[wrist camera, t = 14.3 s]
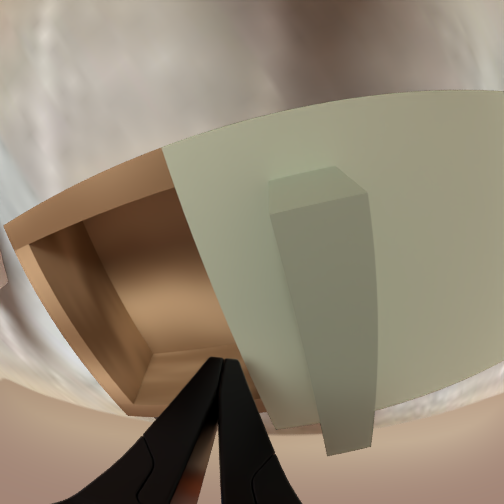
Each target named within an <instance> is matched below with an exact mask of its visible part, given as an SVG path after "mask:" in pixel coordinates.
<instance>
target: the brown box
mask: <svg viewBox="0 0 504 504" xmlns="http://www.w3.org/2000/svg"><path fill="white" fill-rule="evenodd" d="M4 229H5V231H6V233H7V236H8V238H9V240H10V242H11V245H12V247H13V249H14V251H15V253H16V255H17V257H18V259H19V261H20V263H21V265H22V267H23V269H24V271H25V273H26V275H27V277H28V279H29V281H30V283H31V284H32V286H33V288H34V290H35V292H36V293H37V295H38V297H39V299H40V300H41V302H42V304H43V305H44V307H45V309H46V310H47V312H48V313H49V315H50V317H51V318H52V320H53V321H54V323H55V324H56V326H57V328H58V329H59V331H60V332H61V333H62V335H63V336H64V338H65V339H66V341H67V342H68V344H69V345H70V346H71V348H72V349H73V351H74V352H75V353H76V355H77V356H78V357H79V359H80V360H81V361H82V363H83V364H84V365H85V367H86V368H87V369H88V370H89V372H90V373H91V374H92V375H93V377H94V378H95V379H96V380H97V381H98V383H99V384H100V385H101V386H102V387H103V389H104V390H105V391H106V392H107V393H108V394H109V396H110V397H111V398H112V399H113V400H114V401H115V402H116V403H117V405H118V406H119V407H120V408H121V409H122V410H123V411H124V412H125V413H126V414H127V415H128V416H142V417H154V418H155V419H157V418H158V417H159V416H160V414H161V413H162V412H163V411H164V410H165V409H166V408H167V406H168V405H169V404H170V403H171V402H172V401H173V399H174V398H175V397H176V396H177V395H178V394H179V392H180V391H181V390H182V389H183V388H184V386H185V385H186V384H187V383H188V382H189V381H190V379H191V378H192V377H193V376H194V375H195V373H196V372H197V371H198V370H199V369H200V367H201V366H202V365H203V364H204V363H205V361H206V360H207V359H208V358H209V357H211V356H214V357H222V358H223V359H225V358H232V359H238V360H239V362H240V364H241V367H242V370H243V373H244V375H245V378H246V381H247V383H248V386H249V389H250V391H251V394H252V396H253V399H254V402H255V404H256V407H257V409H258V412H259V413H262V412H267V410H266V408H265V406H264V404H263V402H262V400H261V398H260V395H259V393H258V391H257V389H256V387H255V385H254V382H253V380H252V378H251V376H250V374H249V371H248V369H247V367H246V365H245V362H244V360H243V358H242V356H241V353H240V351H239V349H238V347H237V344H236V342H235V340H234V337H233V335H232V333H231V330H230V328H229V326H228V323H227V321H226V319H225V316H224V314H223V311H222V309H221V307H220V304H219V302H218V299H217V297H216V294H215V292H214V289H213V287H212V284H211V282H210V279H209V277H208V274H207V272H206V269H205V267H204V264H203V262H202V259H201V257H200V254H199V251H198V249H197V246H196V244H195V241H194V238H193V236H192V233H191V230H190V228H189V225H188V222H187V220H186V217H185V214H184V211H183V209H182V206H181V203H180V200H179V197H178V195H177V192H176V189H175V186H174V183H173V180H172V178H171V175H170V172H169V169H168V166H167V163H166V160H165V157H164V154H163V151H162V148H159V149H156V150H154V151H151V152H149V153H146V154H144V155H141V156H139V157H136V158H134V159H131V160H129V161H126V162H124V163H122V164H119V165H117V166H115V167H113V168H110V169H108V170H106V171H104V172H101V173H99V174H97V175H95V176H93V177H91V178H89V179H87V180H84V181H82V182H80V183H78V184H76V185H74V186H72V187H70V188H68V189H66V190H64V191H63V192H61V193H59V194H57V195H55V196H53V197H51V198H49V199H48V200H46V201H44V202H42V203H40V204H39V205H37V206H35V207H33V208H32V209H30V210H28V211H26V212H25V213H23V214H21V215H20V216H18V217H16V218H15V219H13V220H12V221H10V222H8V223H7V224H5V225H4Z"/></svg>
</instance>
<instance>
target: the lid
mask: <svg viewBox="0 0 504 504" xmlns="http://www.w3.org/2000/svg"><path fill="white" fill-rule="evenodd" d="M161 148H162V151H163V154H164V157H165V160H166V163H167V166H168V169H169V172H170V175H171V178H172V180H173V183H174V186H175V189H176V192H177V195H178V197H179V200H180V203H181V206H182V209H183V211H184V214H185V217H186V220H187V222H188V225H189V228H190V230H191V233H192V236H193V238H194V241H195V244H196V246H197V249H198V251H199V254H200V257H201V259H202V262H203V264H204V267H205V269H206V272H207V274H208V277H209V279H210V282H211V284H212V287H213V289H214V292H215V294H216V297H217V299H218V302H219V304H220V307H221V309H222V311H223V314H224V316H225V319H226V321H227V323H228V326H229V328H230V330H231V333H232V335H233V337H234V340H235V342H236V344H237V347H238V349H239V351H240V353H241V356H242V358H243V360H244V362H245V365H246V367H247V369H248V371H249V374H250V376H251V378H252V380H253V382H254V385H255V387H256V389H257V391H258V393H259V395H260V398H261V400H262V402H263V404H264V406H265V408H266V410H267V412H268V415H269V417H270V419H271V421H272V423H273V425H274V427H275V429H276V430H278V429H286V428H293V427H300V426H306V425H312V424H318V423H320V424H321V429H322V433H323V438H324V443H325V448H326V452H327V456H330V455H335V454H341V453H345V452H350V451H355V450H359V449H363V448H367V447H371V442H372V433H373V424H374V414H375V411H376V410H380V409H383V408H387V407H390V406H394V405H397V404H400V403H403V402H406V401H409V400H413V399H415V398H418V397H421V396H424V395H427V394H430V393H432V392H435V391H438V390H440V389H443V388H445V387H448V386H450V385H453V384H455V383H458V382H460V381H462V380H465V379H467V378H469V377H471V376H473V375H476V374H478V373H480V372H482V371H484V370H486V369H488V368H490V367H492V366H494V365H496V364H498V363H500V362H502V361H504V91H487V90H434V91H415V92H401V93H390V94H381V95H372V96H364V97H357V98H350V99H343V100H337V101H331V102H325V103H320V104H314V105H309V106H304V107H299V108H295V109H290V110H285V111H281V112H277V113H273V114H268V115H264V116H260V117H256V118H253V119H249V120H245V121H241V122H238V123H234V124H231V125H227V126H224V127H221V128H217V129H214V130H211V131H208V132H205V133H201V134H198V135H195V136H192V137H189V138H186V139H184V140H181V141H178V142H175V143H172V144H169V145H167V146H164V147H161Z"/></svg>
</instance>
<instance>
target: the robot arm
mask: <svg viewBox="0 0 504 504" xmlns="http://www.w3.org/2000/svg"><path fill="white" fill-rule="evenodd" d="M217 426H218V435H219V464H220V487H221V504H302V503H301V501H300V500H299V498H298V497H297V495H296V493H295V492H294V490H293V488H292V487H291V485H290V483H289V481H288V480H287V478H286V475H285V473H284V471H283V469H282V467H281V465H280V463H279V461H278V458H277V456H276V454H275V451H274V449H273V447H272V444H271V442H270V440H269V437H268V434H267V432H266V429H265V427H264V424H263V422H262V419H261V417H260V414H259V412H258V409H257V407H256V404H255V402H254V399H253V396H252V394H251V391H250V389H249V386H248V383H247V381H246V378H245V375H244V373H243V370H242V367H241V364H240V362H239V360H238V359H232V358H225V359H223V358H222V357H214V356H211V357H209V358H208V359H207V360H206V361H205V363H204V364H203V365H202V366H201V367H200V369H199V370H198V371H197V372H196V373H195V375H194V376H193V377H192V378H191V379H190V381H189V382H188V383H187V384H186V385H185V386H184V388H183V389H182V390H181V391H180V392H179V394H178V395H177V396H176V397H175V398H174V399H173V401H172V402H171V403H170V404H169V405H168V406H167V408H166V409H165V410H164V411H163V412H162V413H161V414H160V416H159V417H158V418H157V419H156V420H155V421H154V422H153V424H152V425H151V426H150V427H149V428H148V429H147V431H146V432H145V433H144V434H143V436H144V437H143V436H141V437H140V438H139V439H138V440H137V442H136V443H135V444H134V445H133V446H132V447H131V448H130V449H129V450H128V451H127V452H126V453H125V454H124V455H123V456H122V457H121V458H120V459H119V460H118V461H117V462H116V463H114V464H113V465H112V466H111V467H110V468H109V469H107V470H106V471H105V472H104V473H103V474H101V475H100V476H99V477H97V478H96V479H95V480H94V481H92V482H91V483H90V484H89V485H87V486H86V487H85V488H83V489H82V490H81V491H79V492H78V493H76V494H75V495H73V496H72V497H70V498H68V499H65V500H63V501H60V502H57V503H52V504H197V501H198V497H199V494H200V490H201V487H202V483H203V479H204V476H205V472H206V468H207V465H208V461H209V457H210V453H211V450H212V446H213V442H214V439H215V435H216V431H217Z"/></svg>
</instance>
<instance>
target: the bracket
mask: <svg viewBox="0 0 504 504" xmlns="http://www.w3.org/2000/svg"><path fill="white" fill-rule="evenodd" d="M7 283H8V279H7V275H6V271H5V267H4V263H3V259H2V255H1V251H0V289H1V288H2V287H3V286H4V285H5V284H7Z"/></svg>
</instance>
